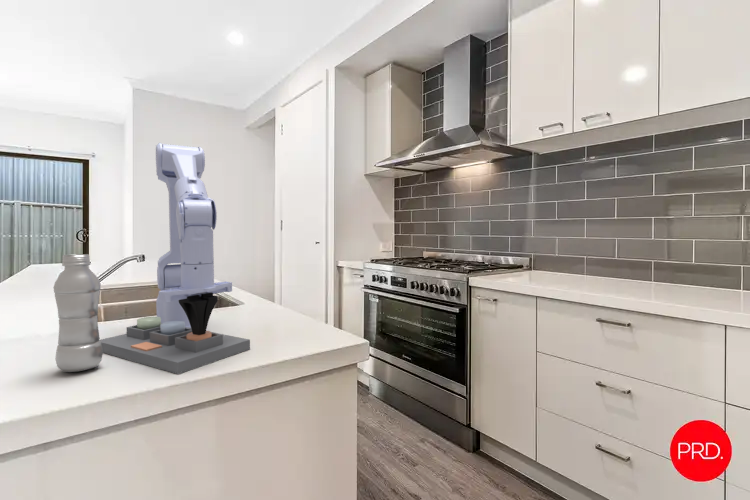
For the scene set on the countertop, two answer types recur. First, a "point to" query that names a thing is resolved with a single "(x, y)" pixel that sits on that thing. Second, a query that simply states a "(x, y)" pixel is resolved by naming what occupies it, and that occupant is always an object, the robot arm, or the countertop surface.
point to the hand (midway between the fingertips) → (199, 334)
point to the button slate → (172, 327)
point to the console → (172, 348)
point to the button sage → (148, 323)
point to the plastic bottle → (77, 315)
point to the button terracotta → (198, 336)
